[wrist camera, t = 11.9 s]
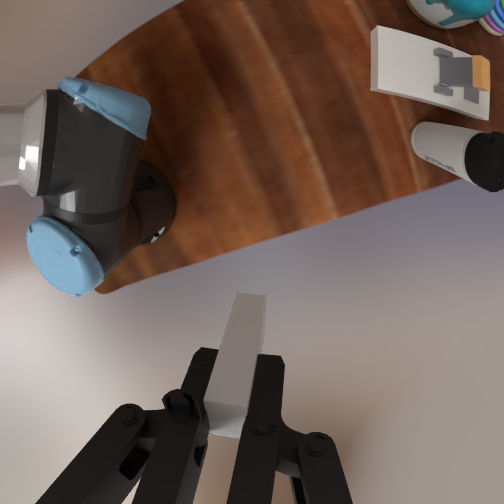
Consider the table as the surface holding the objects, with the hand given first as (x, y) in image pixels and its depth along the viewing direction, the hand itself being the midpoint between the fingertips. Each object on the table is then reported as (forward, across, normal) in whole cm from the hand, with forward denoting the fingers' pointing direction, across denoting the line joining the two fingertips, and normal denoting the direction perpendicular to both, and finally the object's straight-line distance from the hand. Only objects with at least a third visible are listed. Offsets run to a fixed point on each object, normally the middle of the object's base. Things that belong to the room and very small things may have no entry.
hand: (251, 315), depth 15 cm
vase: (+33, +23, +33) cm, 52 cm away
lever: (+27, +23, +20) cm, 41 cm away
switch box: (+32, +23, +20) cm, 44 cm away
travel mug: (+33, +23, +9) cm, 41 cm away
